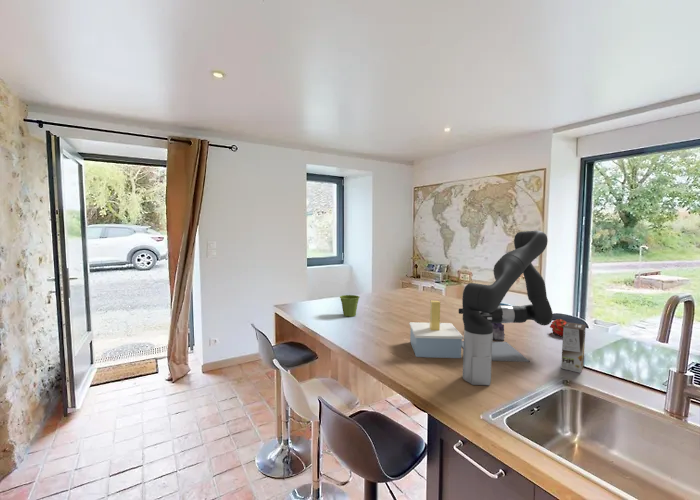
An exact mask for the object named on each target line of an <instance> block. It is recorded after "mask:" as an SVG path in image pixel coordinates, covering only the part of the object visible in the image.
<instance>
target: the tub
mask: <svg viewBox="0 0 700 500" xmlns="http://www.w3.org/2000/svg"><path fill="white" fill-rule="evenodd" d="M409 332H410V336H409V337H410V340H409V341H410V345H411V347H412V350H413V352H414V355H415V357H416V358H440V359H441V358H442V359H444V358H445V359H446V358H447V359H462V346H461V345H462V341H463V339H437V338H415V336H414V334H413V331H412V329H411V328H410V331H409Z"/></svg>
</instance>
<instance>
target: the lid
mask: <svg viewBox="0 0 700 500" xmlns="http://www.w3.org/2000/svg"><path fill="white" fill-rule="evenodd" d="M429 305H430V306H429V322H418V321H417V322H413V321H412V322H411V321H410V322H409V323H408V325H409V326H410V330H411V329H412V331H413V334H414V336H415V338H437V339H462V340H464V335H463V334H461V332H460V331H459V330H458V329H457V328H456V327H455V326H454V325H453V323H452V322H440V321H441V301H440V300H432V299H431V300H430V302H429Z"/></svg>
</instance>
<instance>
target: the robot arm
mask: <svg viewBox="0 0 700 500" xmlns="http://www.w3.org/2000/svg"><path fill="white" fill-rule="evenodd" d="M548 242H549V241H548V235H547V234H546V233H545V232H544V231H541V230H526V231H525V230H524V231H518V232H517V233H515V235H514V239H513V245H514V249H512V250H511V251H508V252H506V253H505V254H503V255H502V256H501V257H500V258H499V259H498V261H496V263H495V264H494V266H493V270H492V271H493V276H494V279H495V281H494V282H493V283H492V284H490V285H489V284H482V283H475V282H470V283H467V284H466V285H465V287H464V289H463V292H462V308H458V314H460V315H461V314H462V322H463V341H464V347H463V348H462V349H463V350H462V351H463V352H462V355H463V356H462V379H463V381H465V382H467V383H469V384H471V385H473V386H491V382H492V364H493V363H492V362H493V361H492V342H493V340H494V339H493V325H492V323H502V324H510V323H511V324H513V323H514V324H515V323H516V324H523V323H526V321H534V322H535V323H537V324H538V325H540V326H543V327H544V326H545V327H546V326H548V325H551V324H552V322H553V319H554V313H553V310H552V306H551V304H550V301H549V300H548V295H547V288H546V283H545V282H546V281H545V280H544V278H543V276H542V275H541V274H540V272H539V271H538V270H537V268H536V267H535V266H534V264H533V261H534V260H535V259H537V258H538V257H539V256H540V255H542V253H544V251H545V250H546V249H547V245H548ZM522 275H523V278H524V282H525V286H526V287H525V288H526V294H527V297H528V301H530V303H531V304H524V305H504V304H502V305H501V303H502V302H503V299H504V298H505V296H506V295H507V294H508V291H510V289H511V287H512V286H513V285H514V283H515V282H516V281H517V280H518V279H520V277H521V276H522Z"/></svg>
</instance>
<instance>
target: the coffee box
mask: <svg viewBox="0 0 700 500" xmlns="http://www.w3.org/2000/svg"><path fill="white" fill-rule="evenodd" d="M566 322H567V323H566V324H565V325H564V326H563V337H562V347H561V361H560V362H561V363H560V367H561V369H563V370H567V371H571V372H574V373H582V370H583V368H584V362H585V361H584V360H585V343H586V329H587V328H586V324H581V323H575V322H569V321H566Z"/></svg>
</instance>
